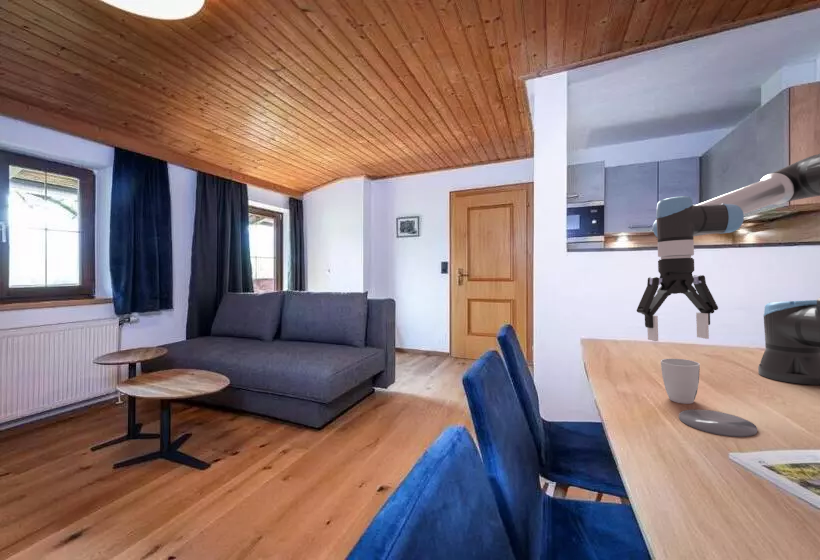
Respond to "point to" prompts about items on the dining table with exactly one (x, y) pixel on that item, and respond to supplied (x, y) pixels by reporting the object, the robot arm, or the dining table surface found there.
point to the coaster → (718, 423)
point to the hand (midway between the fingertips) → (678, 339)
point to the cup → (680, 379)
